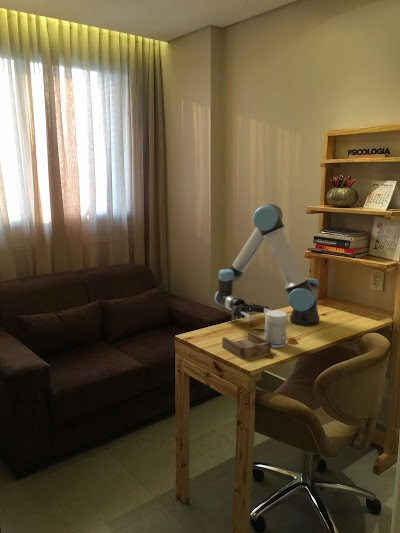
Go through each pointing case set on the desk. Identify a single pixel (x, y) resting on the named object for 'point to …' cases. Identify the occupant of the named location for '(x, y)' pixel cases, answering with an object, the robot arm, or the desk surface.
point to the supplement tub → (276, 328)
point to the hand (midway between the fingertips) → (261, 316)
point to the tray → (247, 346)
